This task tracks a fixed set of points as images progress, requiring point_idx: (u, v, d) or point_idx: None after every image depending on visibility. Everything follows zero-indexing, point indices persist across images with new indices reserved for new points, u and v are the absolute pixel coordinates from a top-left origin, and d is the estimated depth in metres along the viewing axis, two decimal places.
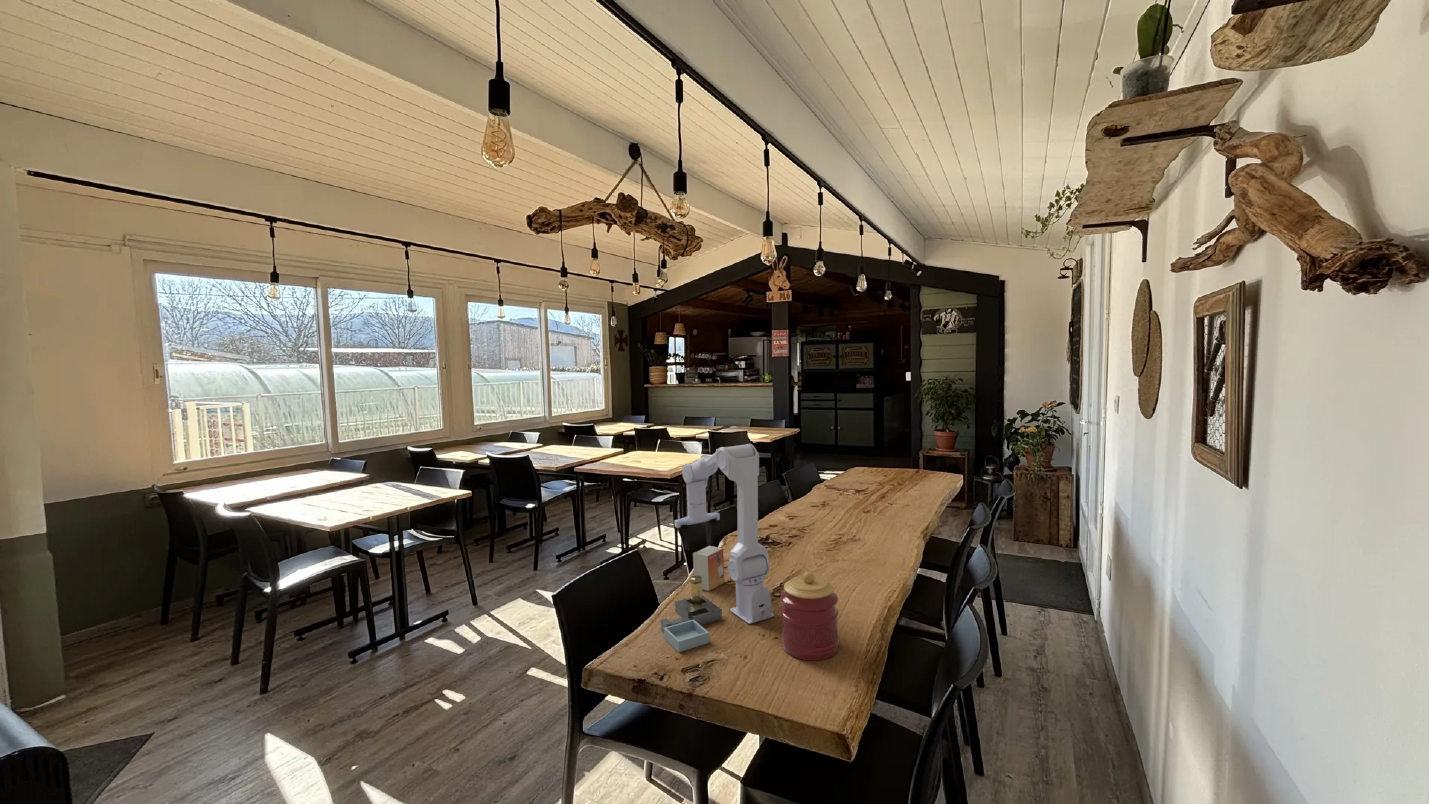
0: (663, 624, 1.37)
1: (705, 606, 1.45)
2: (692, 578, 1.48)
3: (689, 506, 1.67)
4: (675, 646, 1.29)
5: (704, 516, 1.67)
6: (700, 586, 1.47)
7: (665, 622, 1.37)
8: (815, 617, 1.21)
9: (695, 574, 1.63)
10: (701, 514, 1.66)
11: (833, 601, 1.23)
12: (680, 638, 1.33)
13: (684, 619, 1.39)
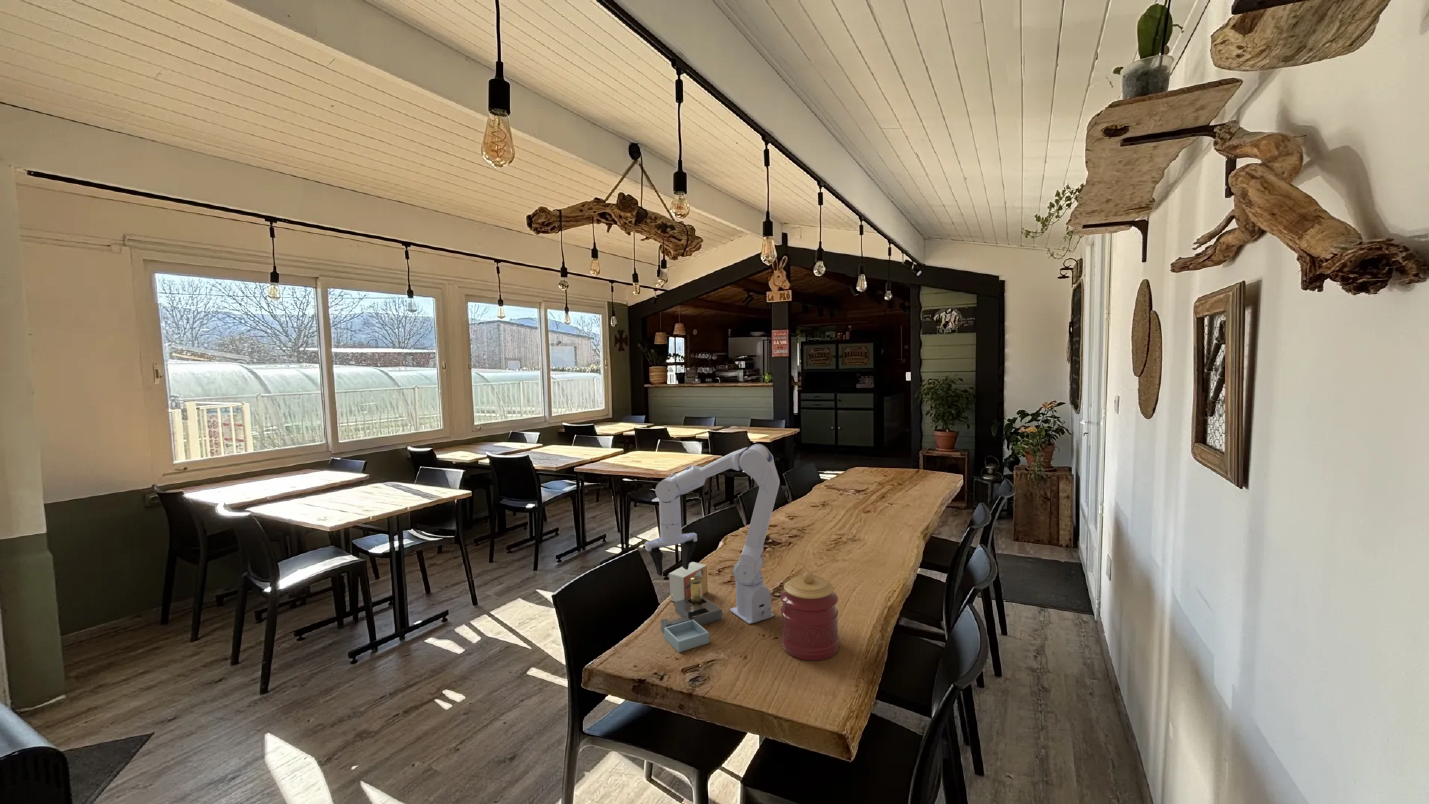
0: (663, 624, 1.37)
1: (705, 606, 1.45)
2: (692, 578, 1.48)
3: (662, 526, 1.48)
4: (675, 646, 1.29)
5: (678, 538, 1.49)
6: (700, 586, 1.47)
7: (665, 622, 1.37)
8: (815, 617, 1.21)
9: None
10: (675, 536, 1.48)
11: (833, 601, 1.23)
12: (680, 638, 1.33)
13: (684, 619, 1.39)
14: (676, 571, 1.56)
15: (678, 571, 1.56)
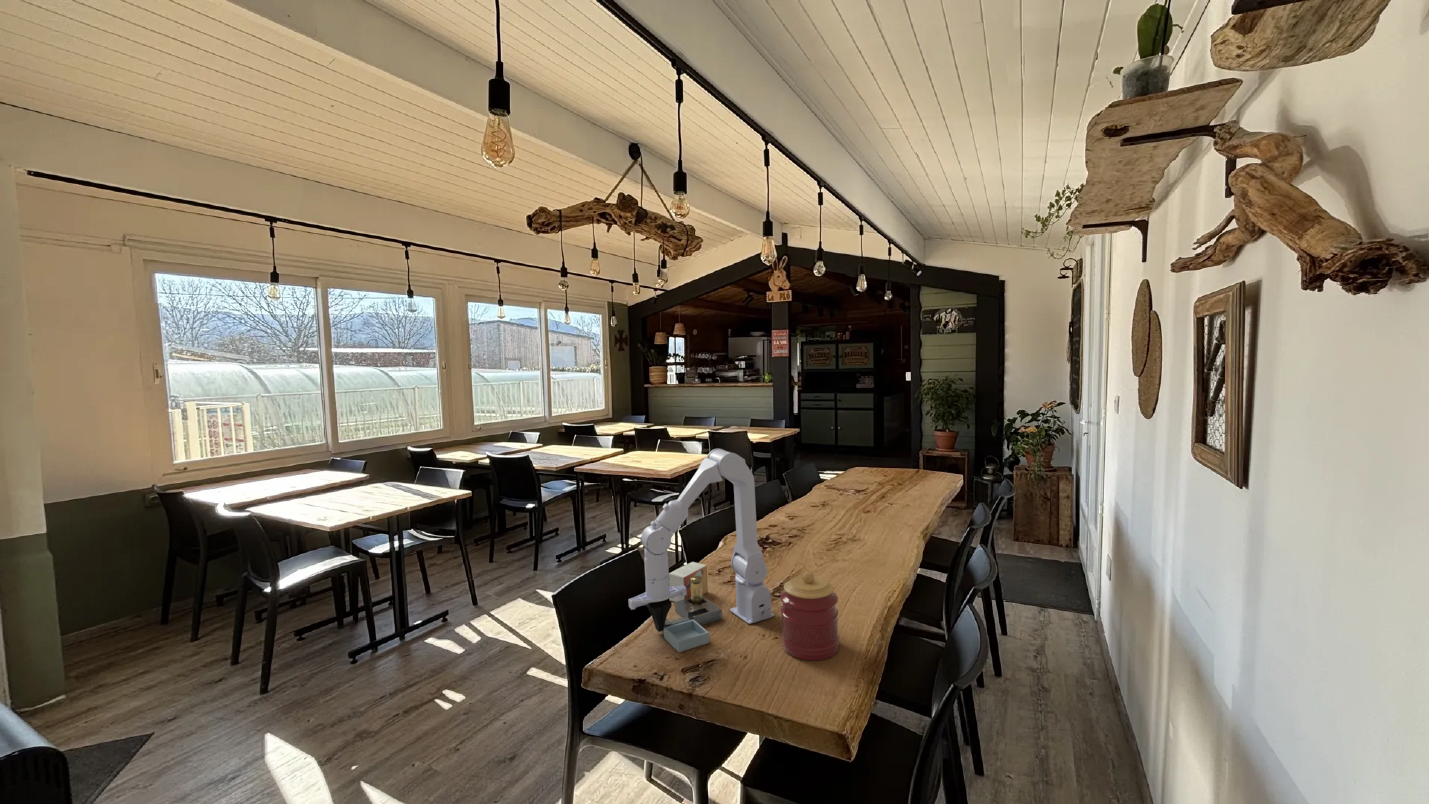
0: None
1: (705, 606, 1.45)
2: (692, 578, 1.48)
3: (647, 581, 1.34)
4: (675, 646, 1.29)
5: (666, 593, 1.34)
6: (700, 586, 1.47)
7: (665, 622, 1.37)
8: (815, 617, 1.21)
9: None
10: (662, 591, 1.33)
11: (833, 601, 1.23)
12: (680, 638, 1.33)
13: (684, 619, 1.39)
14: (676, 571, 1.56)
15: (678, 571, 1.56)
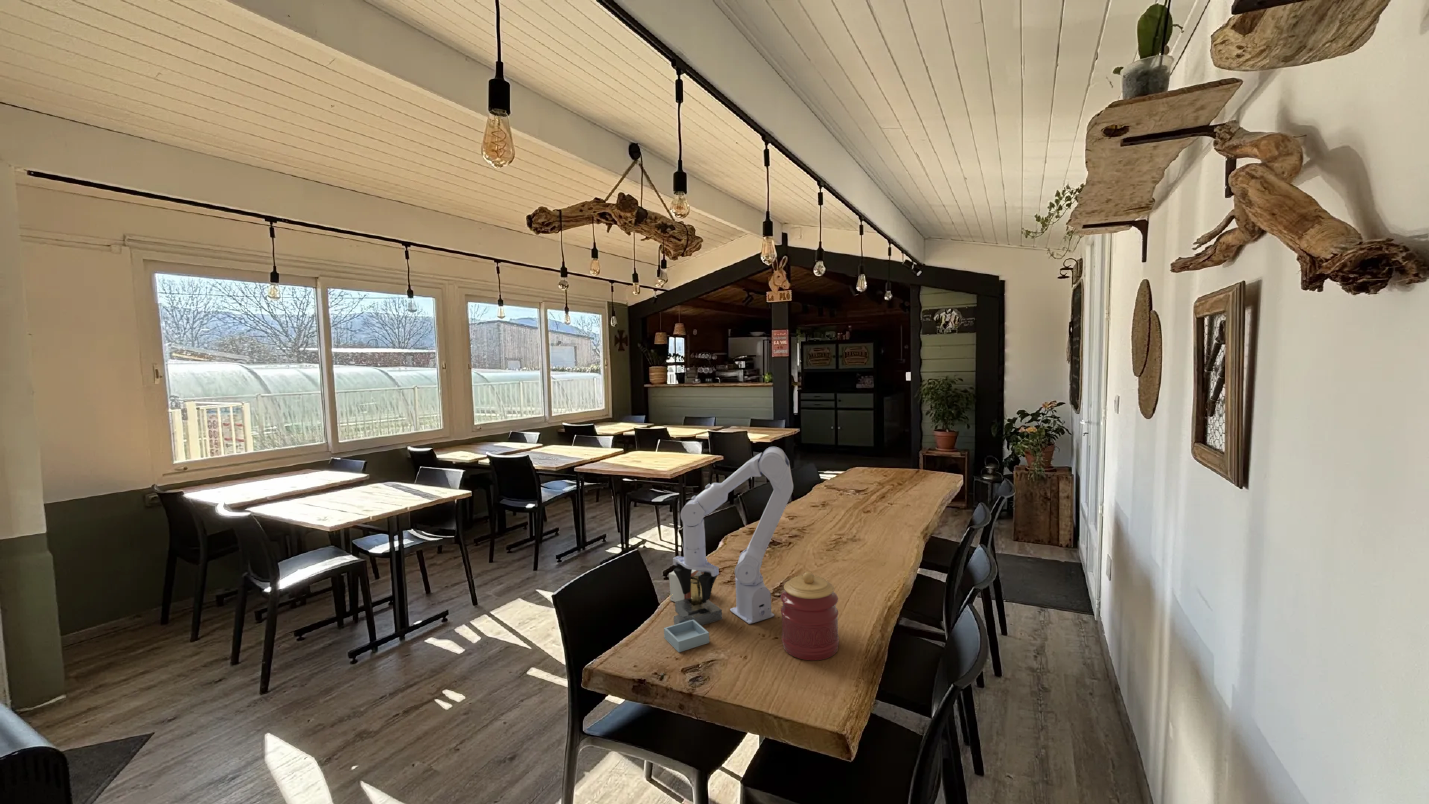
0: (677, 620, 1.39)
1: (705, 606, 1.45)
2: (692, 578, 1.48)
3: None
4: (675, 646, 1.29)
5: (691, 564, 1.45)
6: (700, 586, 1.47)
7: (678, 618, 1.39)
8: (815, 617, 1.21)
9: None
10: (688, 560, 1.45)
11: (833, 602, 1.23)
12: (680, 638, 1.33)
13: None
14: None
15: None
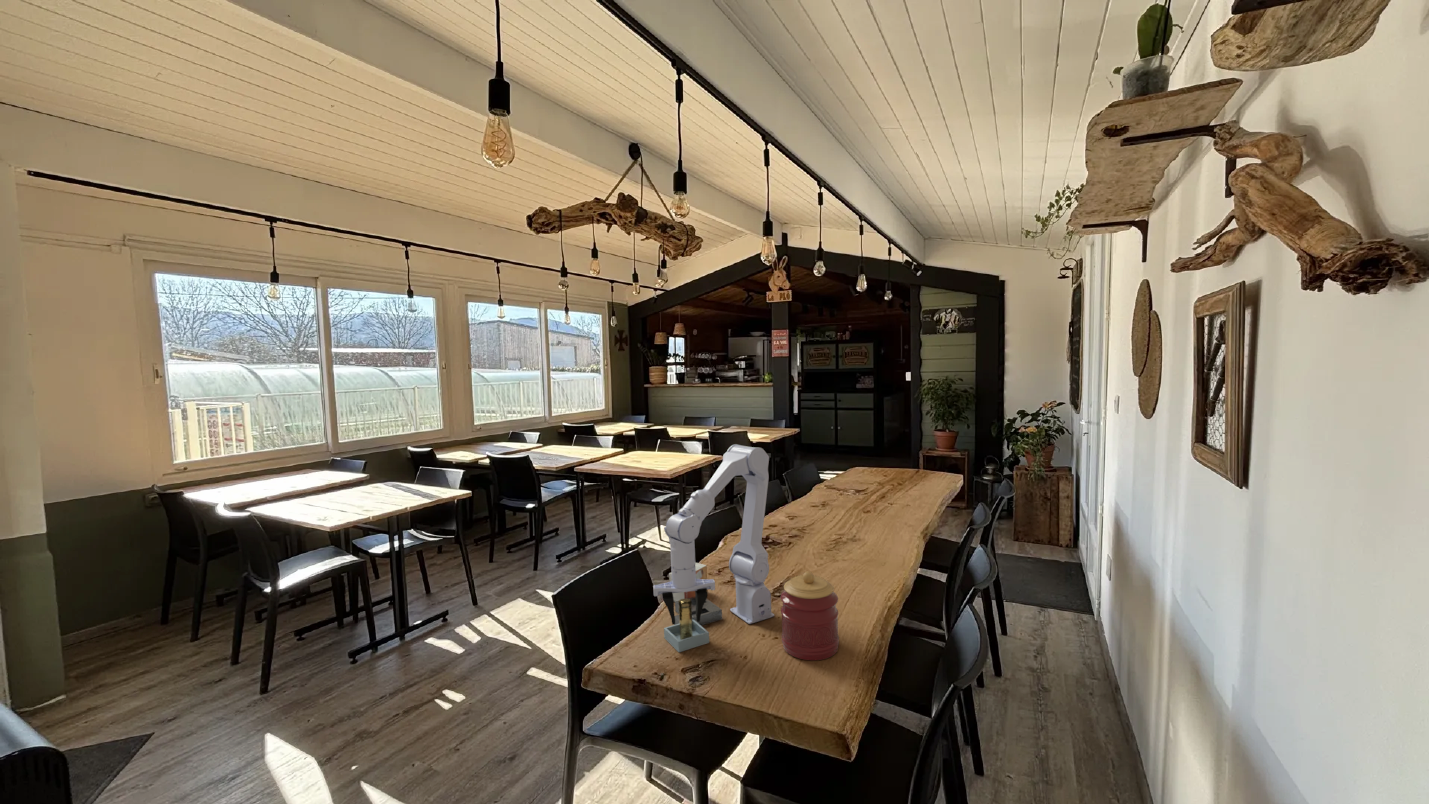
0: (677, 620, 1.39)
1: (705, 606, 1.45)
2: (683, 602, 1.32)
3: (672, 570, 1.31)
4: (675, 646, 1.29)
5: (689, 585, 1.30)
6: None
7: (678, 618, 1.39)
8: (815, 617, 1.21)
9: None
10: (685, 582, 1.29)
11: (833, 601, 1.23)
12: None
13: None
14: None
15: None
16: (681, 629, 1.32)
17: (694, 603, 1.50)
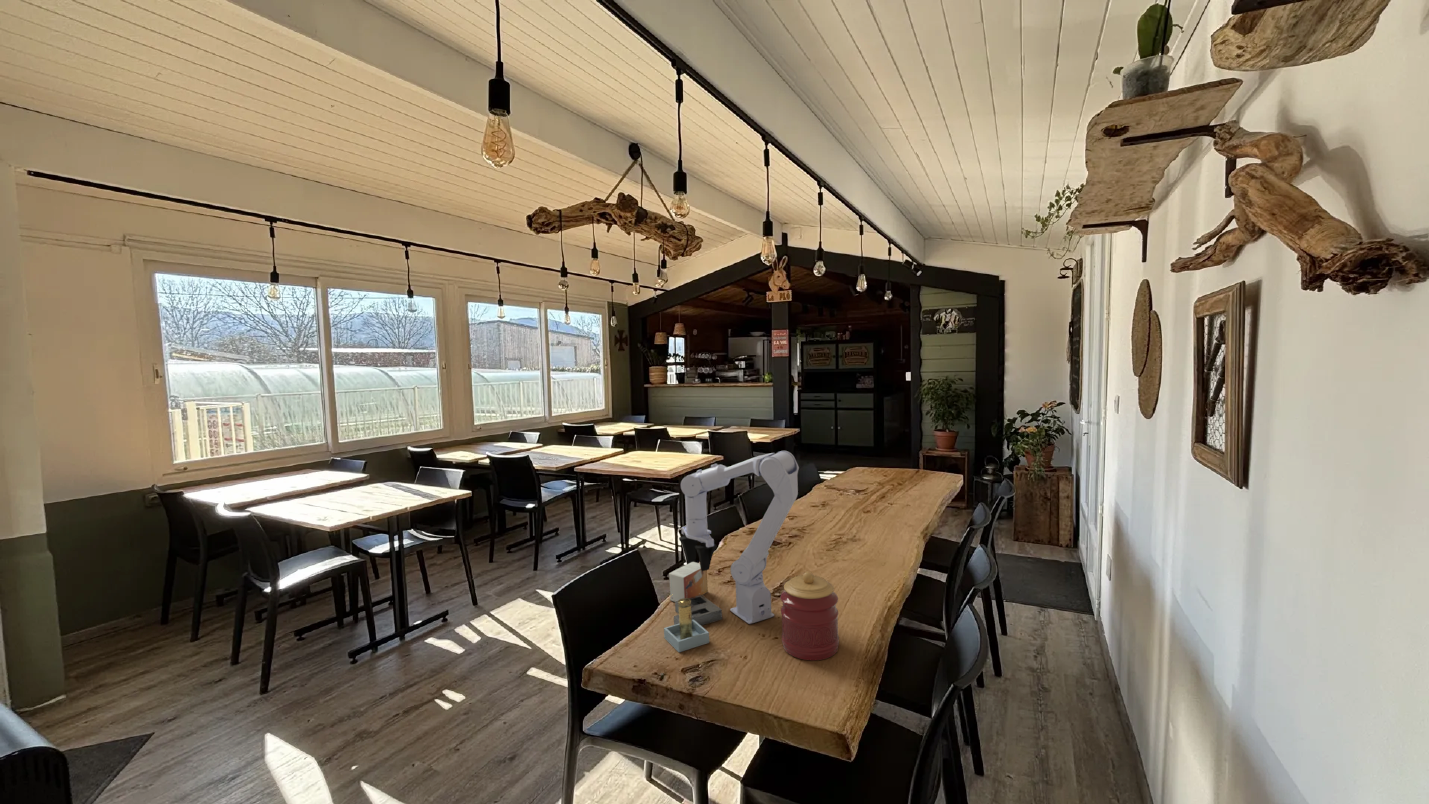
0: (677, 620, 1.39)
1: (705, 606, 1.45)
2: (682, 602, 1.32)
3: None
4: (675, 646, 1.29)
5: (690, 533, 1.50)
6: None
7: (678, 618, 1.39)
8: (815, 617, 1.21)
9: None
10: (687, 530, 1.50)
11: (833, 601, 1.23)
12: None
13: None
14: (676, 571, 1.56)
15: (678, 571, 1.56)
16: (681, 629, 1.32)
17: (694, 603, 1.50)
